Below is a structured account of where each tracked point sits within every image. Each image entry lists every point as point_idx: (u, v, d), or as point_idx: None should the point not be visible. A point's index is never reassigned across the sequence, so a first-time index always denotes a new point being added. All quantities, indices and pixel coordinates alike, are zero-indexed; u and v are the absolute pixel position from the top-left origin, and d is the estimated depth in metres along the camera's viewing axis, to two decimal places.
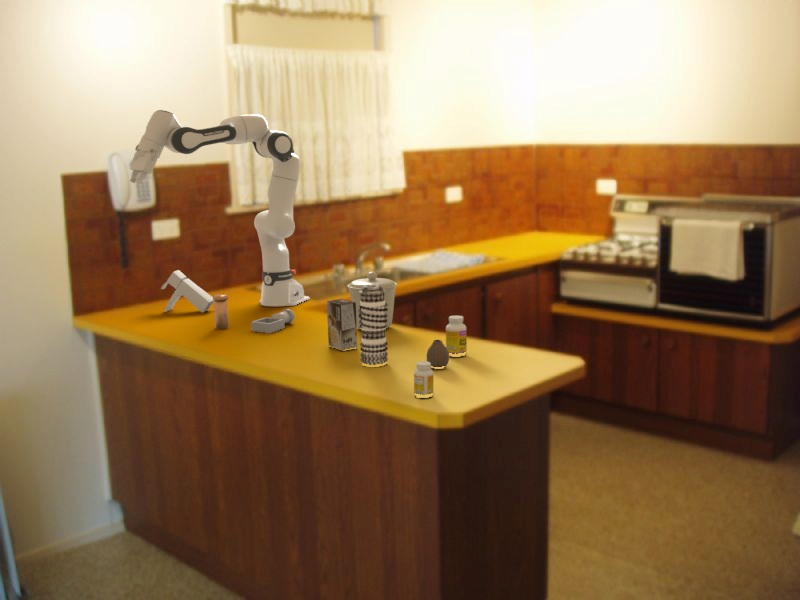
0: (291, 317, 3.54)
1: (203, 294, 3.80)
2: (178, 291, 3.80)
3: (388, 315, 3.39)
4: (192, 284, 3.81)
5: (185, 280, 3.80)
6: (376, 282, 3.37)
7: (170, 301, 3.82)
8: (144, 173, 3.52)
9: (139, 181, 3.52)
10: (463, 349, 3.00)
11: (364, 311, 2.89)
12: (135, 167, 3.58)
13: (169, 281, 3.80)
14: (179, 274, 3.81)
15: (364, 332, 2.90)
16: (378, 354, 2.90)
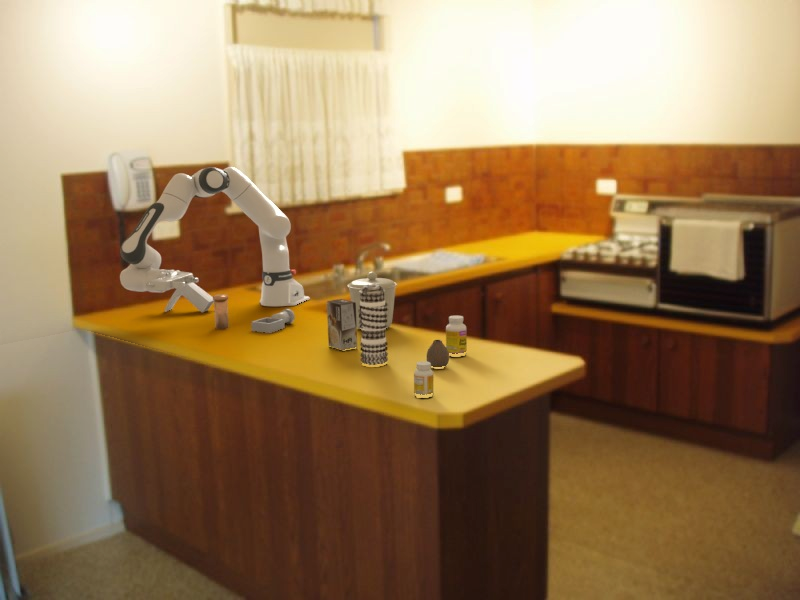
0: (291, 317, 3.54)
1: (203, 294, 3.80)
2: (178, 291, 3.80)
3: (388, 315, 3.39)
4: (192, 284, 3.81)
5: None
6: (376, 282, 3.37)
7: (170, 301, 3.82)
8: (172, 284, 3.47)
9: (181, 285, 3.47)
10: (463, 349, 3.00)
11: (364, 311, 2.89)
12: None
13: None
14: None
15: (364, 332, 2.90)
16: (378, 354, 2.90)
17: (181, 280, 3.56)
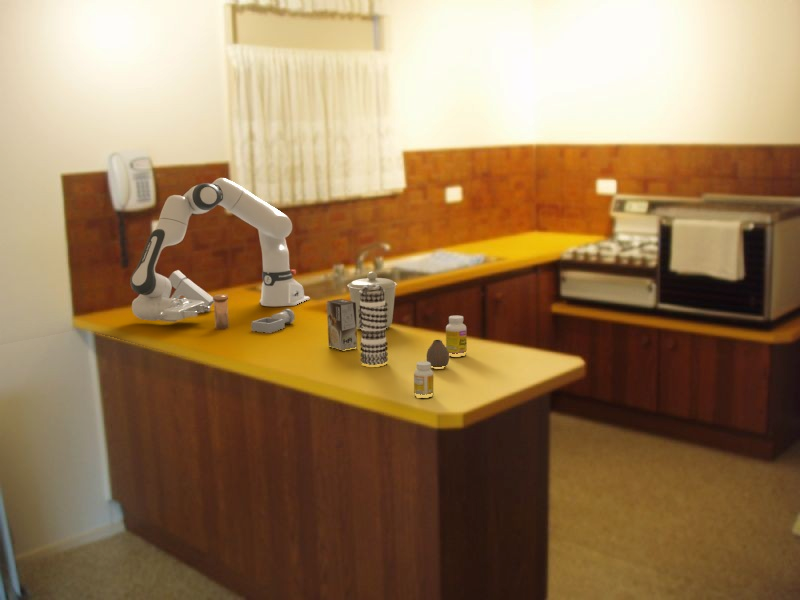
0: (291, 317, 3.54)
1: (203, 294, 3.80)
2: (178, 291, 3.80)
3: (388, 315, 3.39)
4: (192, 284, 3.81)
5: (185, 280, 3.80)
6: (376, 282, 3.37)
7: None
8: (184, 314, 3.48)
9: (193, 314, 3.48)
10: (463, 349, 3.00)
11: (364, 311, 2.89)
12: None
13: None
14: (179, 274, 3.80)
15: (364, 332, 2.90)
16: (378, 354, 2.90)
17: (193, 309, 3.56)
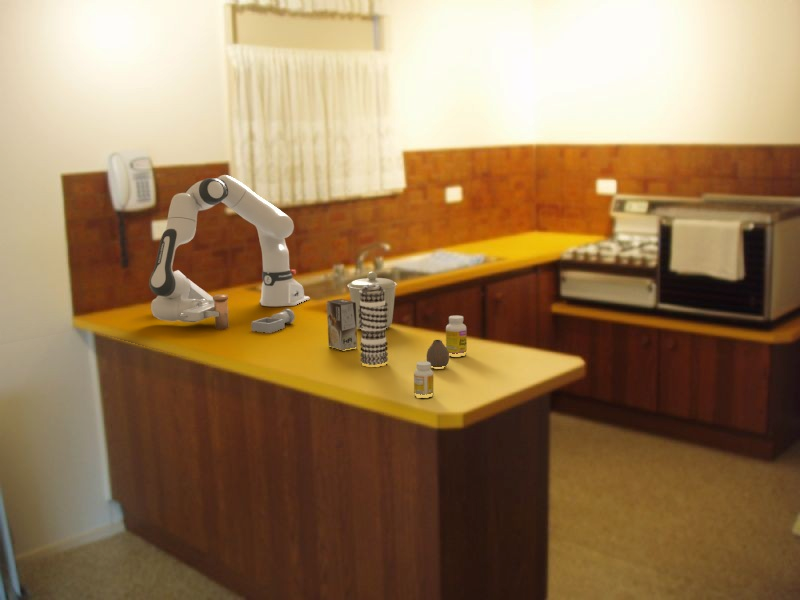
0: (291, 317, 3.54)
1: (203, 294, 3.80)
2: None
3: (388, 315, 3.39)
4: (192, 284, 3.81)
5: None
6: (376, 282, 3.37)
7: None
8: (206, 314, 3.47)
9: (216, 314, 3.47)
10: (463, 349, 3.00)
11: (364, 311, 2.89)
12: None
13: None
14: (179, 274, 3.80)
15: (364, 332, 2.90)
16: (378, 354, 2.90)
17: (213, 310, 3.53)
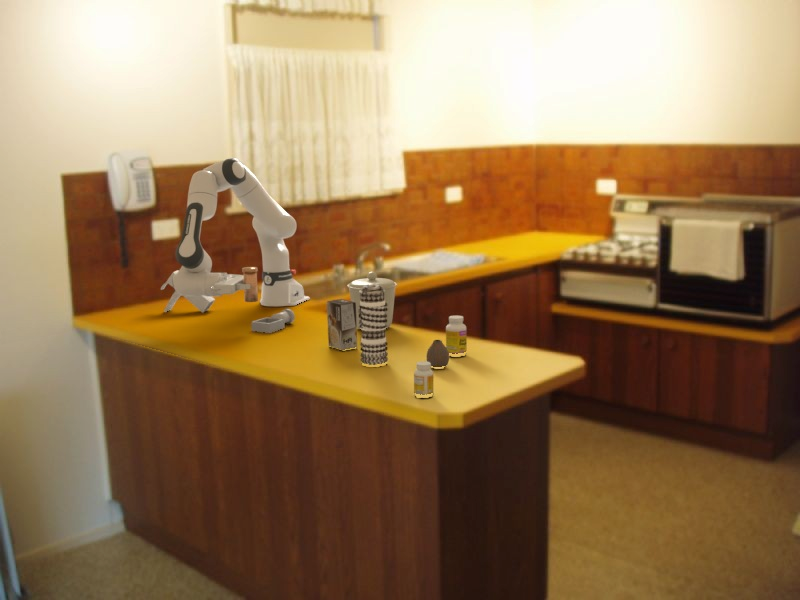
0: (291, 317, 3.54)
1: None
2: None
3: (388, 315, 3.39)
4: None
5: None
6: (376, 282, 3.37)
7: (170, 301, 3.81)
8: (238, 286, 3.39)
9: (248, 286, 3.40)
10: (463, 349, 3.00)
11: (364, 311, 2.89)
12: None
13: (169, 281, 3.79)
14: None
15: (364, 332, 2.90)
16: (378, 354, 2.90)
17: (240, 283, 3.46)
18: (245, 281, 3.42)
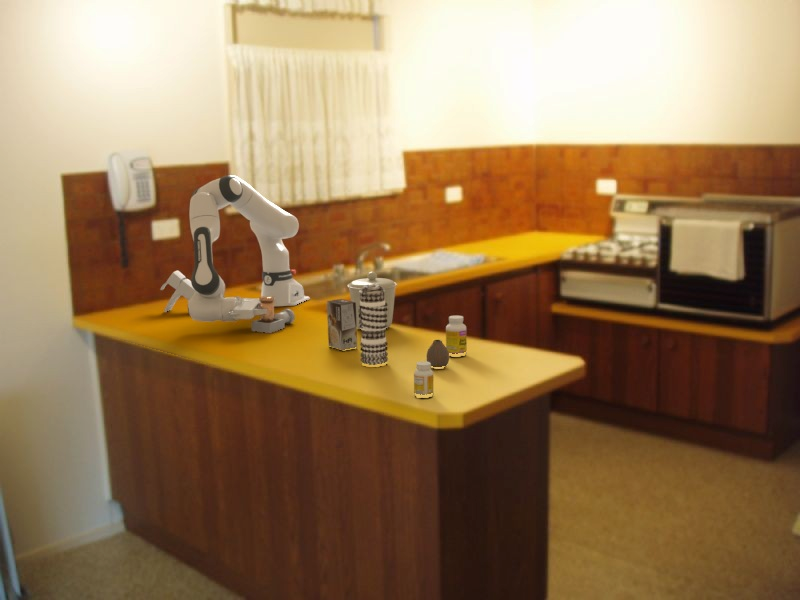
0: (291, 317, 3.54)
1: None
2: (178, 291, 3.80)
3: (388, 315, 3.39)
4: None
5: (185, 280, 3.80)
6: (376, 282, 3.37)
7: (170, 301, 3.81)
8: (255, 312, 3.38)
9: (265, 311, 3.39)
10: (463, 349, 3.00)
11: (364, 311, 2.89)
12: None
13: (169, 281, 3.79)
14: (179, 274, 3.80)
15: (364, 332, 2.90)
16: (378, 354, 2.90)
17: (255, 307, 3.47)
18: None
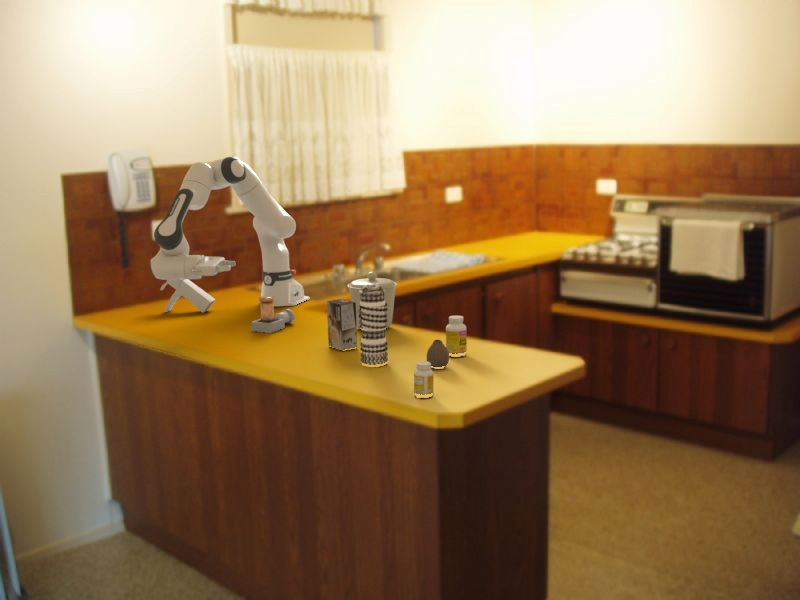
0: (291, 317, 3.54)
1: (204, 294, 3.79)
2: (178, 291, 3.79)
3: (388, 315, 3.39)
4: (192, 284, 3.80)
5: (185, 280, 3.79)
6: (376, 282, 3.37)
7: (170, 302, 3.81)
8: (217, 268, 3.36)
9: (228, 268, 3.37)
10: (463, 349, 3.00)
11: (364, 311, 2.89)
12: None
13: (169, 282, 3.79)
14: None
15: (364, 332, 2.90)
16: (378, 354, 2.90)
17: (219, 264, 3.44)
18: (262, 311, 3.43)
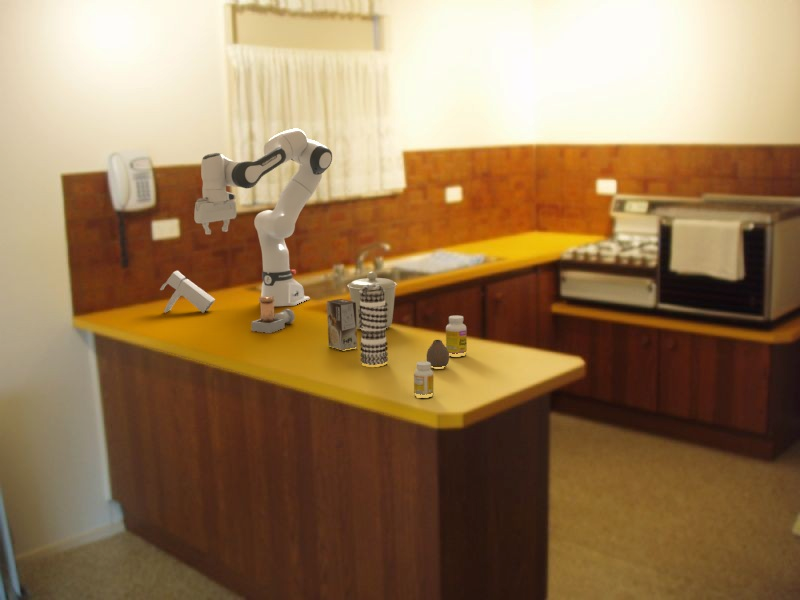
0: (291, 317, 3.54)
1: (204, 294, 3.79)
2: (178, 292, 3.79)
3: (388, 315, 3.39)
4: (192, 284, 3.80)
5: (185, 280, 3.79)
6: (376, 282, 3.37)
7: (170, 302, 3.81)
8: (204, 224, 3.53)
9: (206, 232, 3.54)
10: (463, 349, 3.00)
11: (364, 311, 2.89)
12: None
13: (169, 282, 3.79)
14: (179, 274, 3.80)
15: (364, 332, 2.90)
16: (378, 354, 2.90)
17: None
18: (263, 310, 3.43)
